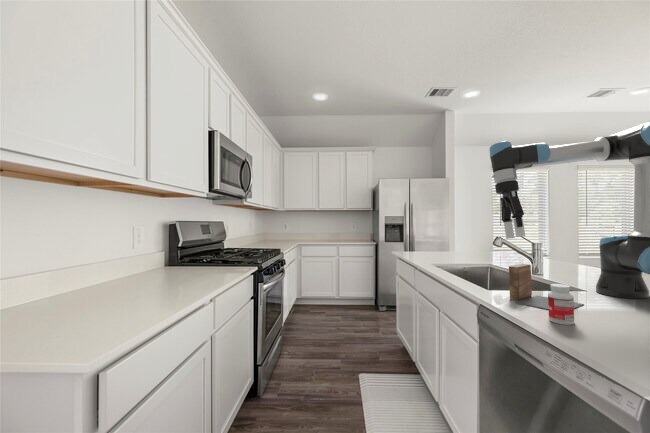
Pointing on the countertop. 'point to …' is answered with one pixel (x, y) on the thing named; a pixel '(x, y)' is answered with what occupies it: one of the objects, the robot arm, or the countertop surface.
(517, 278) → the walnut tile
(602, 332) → the countertop surface
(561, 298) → the pill bottle
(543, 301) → the dark grey rubber mat
